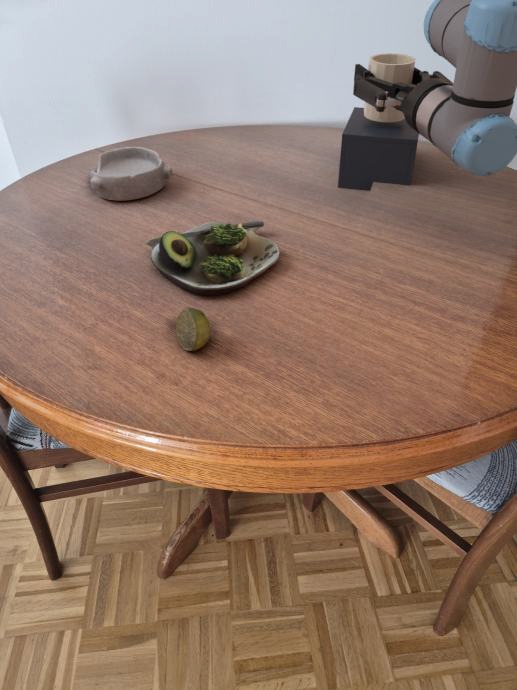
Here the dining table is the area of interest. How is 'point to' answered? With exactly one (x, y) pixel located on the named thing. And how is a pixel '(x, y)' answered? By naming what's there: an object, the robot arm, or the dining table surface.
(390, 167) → the cabinet
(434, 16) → the robot arm
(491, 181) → the dining table surface
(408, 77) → the cup
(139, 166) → the dish
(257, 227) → the salad plate
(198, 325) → the lime
